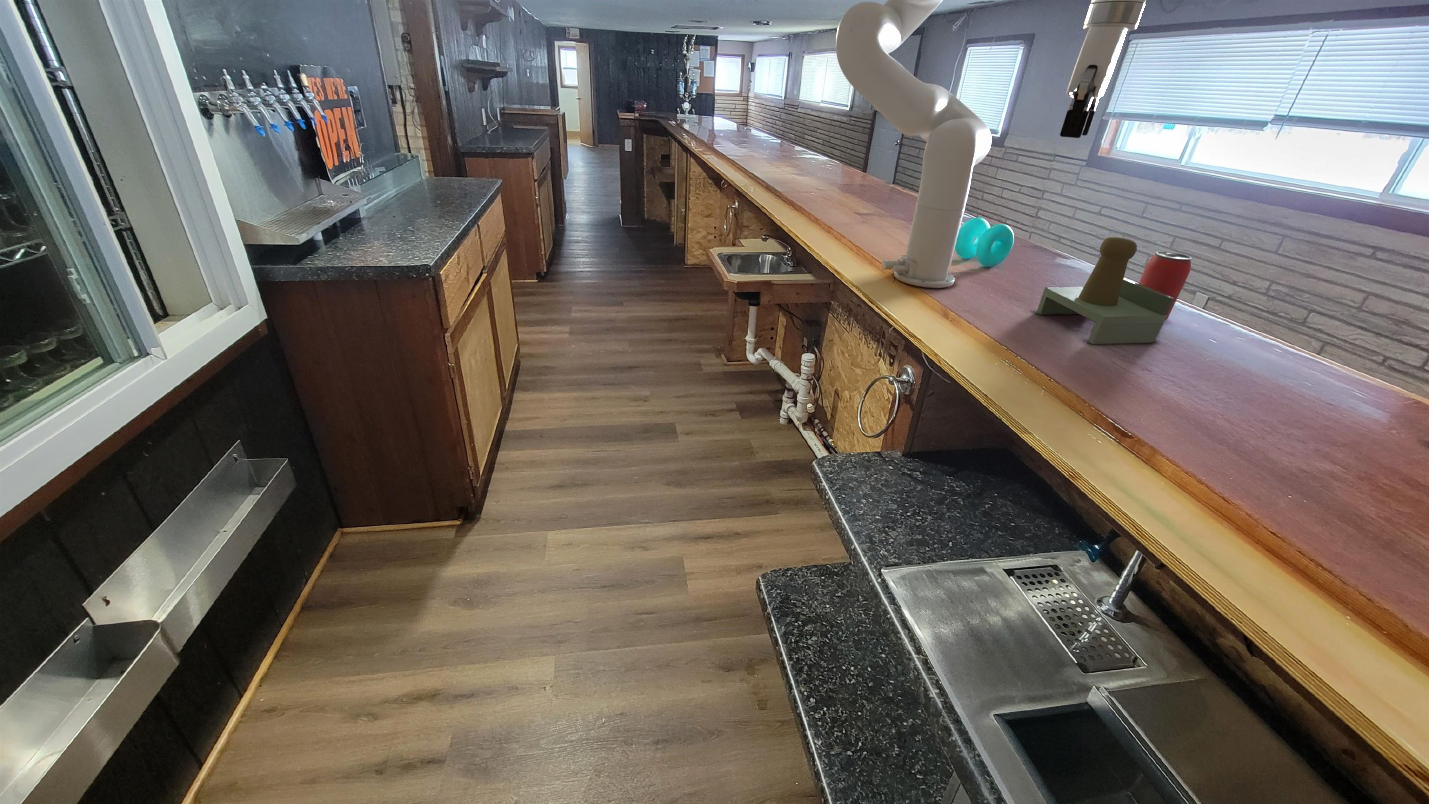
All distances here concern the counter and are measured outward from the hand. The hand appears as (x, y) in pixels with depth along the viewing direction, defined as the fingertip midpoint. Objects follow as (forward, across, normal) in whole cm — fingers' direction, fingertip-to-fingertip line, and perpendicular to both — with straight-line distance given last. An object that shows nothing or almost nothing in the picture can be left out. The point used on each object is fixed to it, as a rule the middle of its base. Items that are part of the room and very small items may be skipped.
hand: (1073, 136), depth 99 cm
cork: (+26, +7, +13) cm, 29 cm away
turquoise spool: (+31, -24, -14) cm, 41 cm away
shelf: (+30, +6, +14) cm, 34 cm away
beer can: (+31, -7, +21) cm, 38 cm away
